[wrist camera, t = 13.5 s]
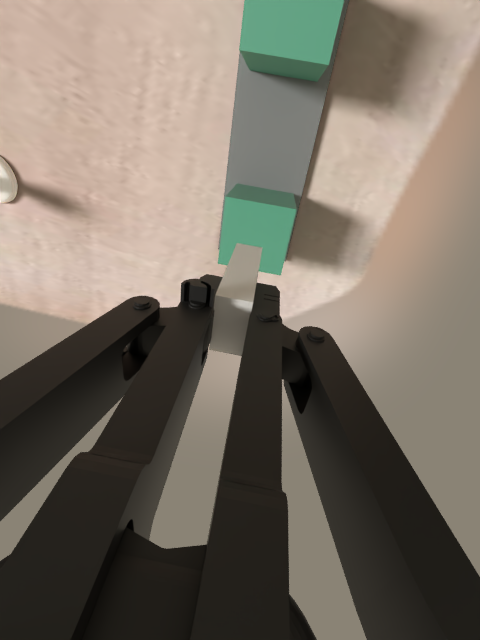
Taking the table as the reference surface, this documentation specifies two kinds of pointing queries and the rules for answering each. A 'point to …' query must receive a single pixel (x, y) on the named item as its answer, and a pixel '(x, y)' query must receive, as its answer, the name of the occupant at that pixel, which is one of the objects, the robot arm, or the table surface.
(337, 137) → the table surface
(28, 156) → the table surface
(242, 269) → the robot arm
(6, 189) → the chess piece
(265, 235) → the green block
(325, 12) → the stand
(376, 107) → the table surface
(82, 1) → the table surface
